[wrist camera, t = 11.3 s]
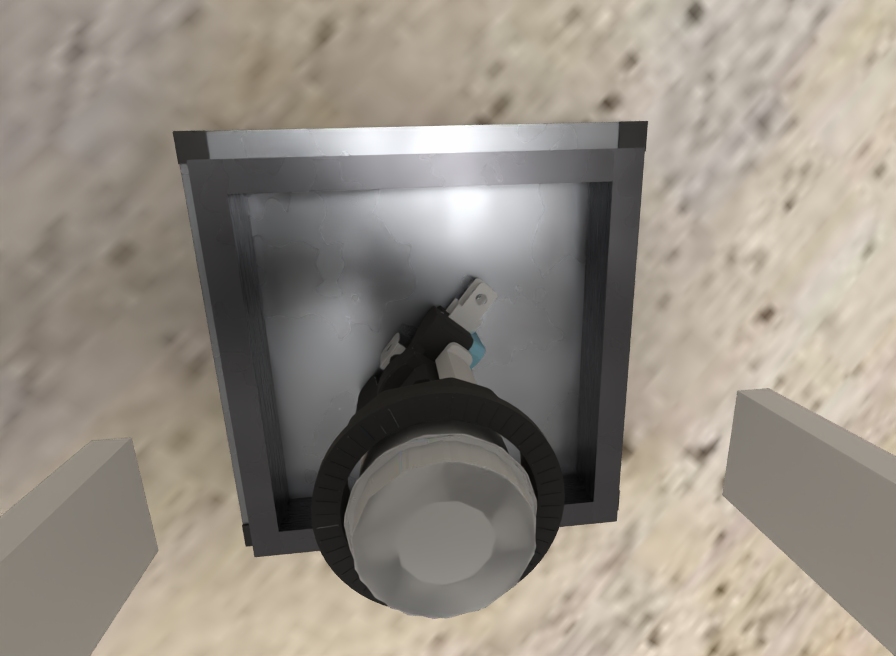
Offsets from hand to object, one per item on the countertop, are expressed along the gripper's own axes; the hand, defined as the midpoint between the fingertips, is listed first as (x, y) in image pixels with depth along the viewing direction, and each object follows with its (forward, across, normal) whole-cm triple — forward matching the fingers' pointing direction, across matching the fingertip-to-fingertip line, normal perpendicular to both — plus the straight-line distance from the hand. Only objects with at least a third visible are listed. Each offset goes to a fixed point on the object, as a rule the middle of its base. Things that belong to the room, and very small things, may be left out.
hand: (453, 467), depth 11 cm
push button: (+8, 0, 0) cm, 9 cm away
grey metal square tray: (+10, 0, 0) cm, 10 cm away
